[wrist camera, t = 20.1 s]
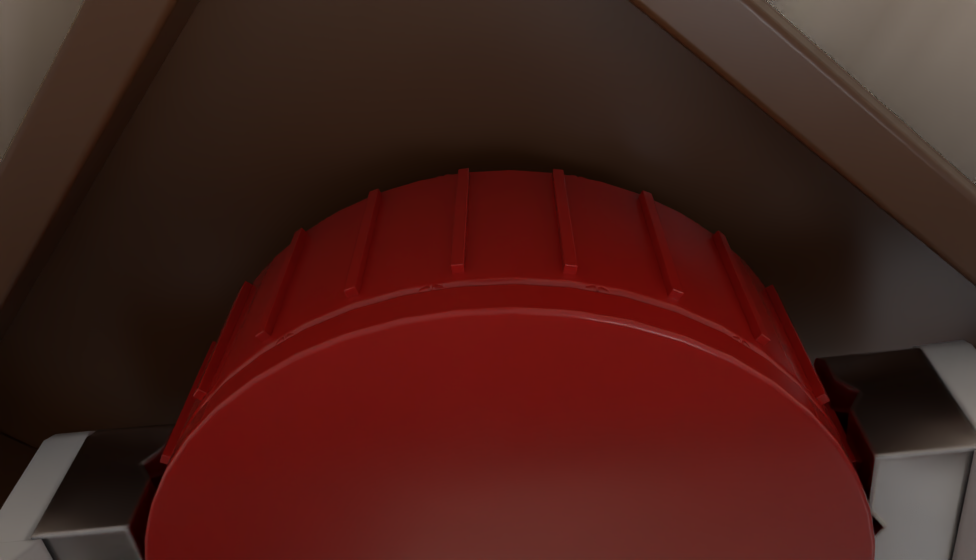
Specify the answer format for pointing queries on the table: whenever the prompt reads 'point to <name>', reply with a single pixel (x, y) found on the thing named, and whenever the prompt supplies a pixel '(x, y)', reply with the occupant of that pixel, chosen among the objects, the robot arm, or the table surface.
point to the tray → (434, 170)
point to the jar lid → (508, 393)
